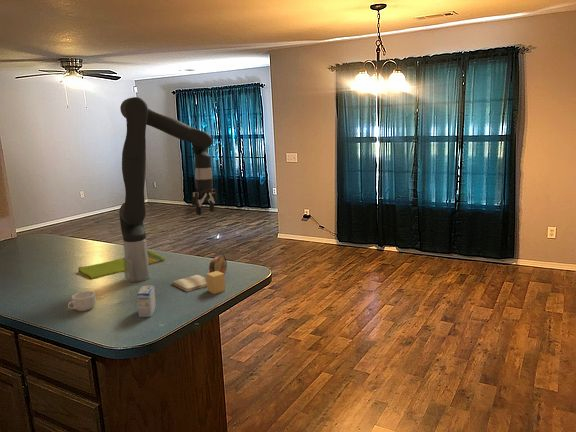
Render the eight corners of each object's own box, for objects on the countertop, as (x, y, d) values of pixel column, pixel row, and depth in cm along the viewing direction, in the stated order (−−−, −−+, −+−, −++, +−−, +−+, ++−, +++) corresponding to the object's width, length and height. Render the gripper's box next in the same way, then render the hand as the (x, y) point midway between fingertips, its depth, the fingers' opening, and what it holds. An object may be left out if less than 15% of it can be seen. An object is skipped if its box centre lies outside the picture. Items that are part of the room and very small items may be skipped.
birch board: (187, 291, 180) (186, 288, 180) (172, 284, 189) (172, 281, 188) (213, 284, 188) (212, 281, 187) (197, 277, 196) (197, 274, 196)
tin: (215, 282, 190) (214, 262, 188) (208, 282, 191) (207, 262, 189) (227, 270, 204) (226, 252, 203) (220, 270, 205) (219, 252, 203)
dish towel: (165, 261, 221) (165, 255, 221) (92, 281, 196) (91, 273, 196) (149, 255, 232) (149, 249, 231) (77, 273, 207) (76, 266, 206)
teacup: (88, 303, 171) (87, 289, 170) (101, 307, 167) (99, 293, 166) (63, 312, 163) (61, 298, 162) (75, 317, 159) (73, 302, 157)
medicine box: (143, 308, 165) (141, 285, 163) (156, 307, 165) (154, 284, 163) (138, 317, 157) (136, 293, 155) (152, 316, 157) (149, 293, 156)
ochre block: (214, 294, 177) (213, 276, 176) (207, 290, 181) (206, 273, 179) (225, 290, 180) (224, 273, 179) (218, 287, 184) (217, 270, 183)
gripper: (208, 175, 213) (209, 210, 217) (186, 178, 202) (188, 215, 205) (220, 176, 210) (222, 211, 213) (199, 179, 198) (200, 216, 201)
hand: (205, 213), depth 209 cm, fingers open, 8 cm apart
